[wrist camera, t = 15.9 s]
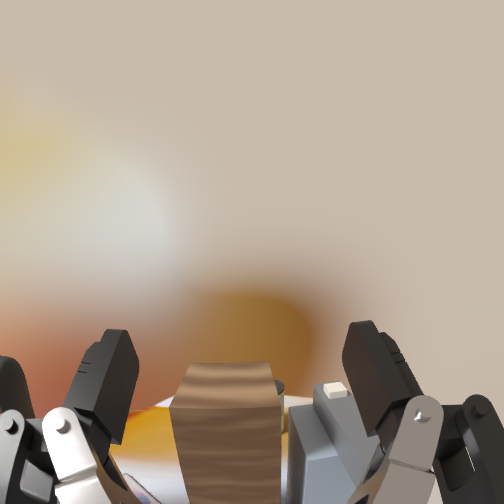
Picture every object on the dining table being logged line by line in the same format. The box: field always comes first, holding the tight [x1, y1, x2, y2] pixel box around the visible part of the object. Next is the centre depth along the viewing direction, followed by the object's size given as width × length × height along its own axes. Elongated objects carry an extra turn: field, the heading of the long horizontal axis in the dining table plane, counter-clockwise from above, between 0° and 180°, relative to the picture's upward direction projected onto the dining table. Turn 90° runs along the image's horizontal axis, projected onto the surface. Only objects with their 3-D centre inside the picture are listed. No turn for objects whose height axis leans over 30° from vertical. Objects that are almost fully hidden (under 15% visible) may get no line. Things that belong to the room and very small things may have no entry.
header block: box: [286, 404, 356, 504], centre depth 31 cm, size 14×11×24 cm
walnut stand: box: [169, 361, 281, 504], centre depth 31 cm, size 14×11×32 cm
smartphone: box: [123, 474, 161, 504], centre depth 36 cm, size 7×1×15 cm
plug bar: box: [313, 381, 380, 488], centre depth 27 cm, size 22×4×5 cm, turn 2°
